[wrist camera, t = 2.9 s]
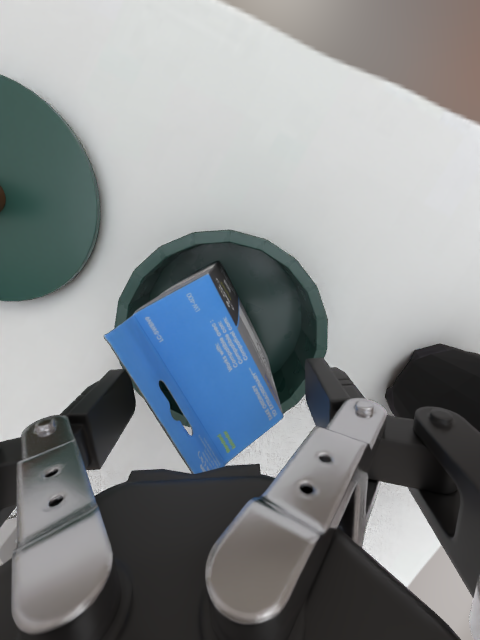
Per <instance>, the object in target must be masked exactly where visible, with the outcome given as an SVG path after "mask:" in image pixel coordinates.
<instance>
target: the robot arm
mask: <svg viewBox="0 0 480 640" xmlns="http://www.w3.org/2000/svg"><path fill="white" fill-rule="evenodd" d="M305 395H306V401H307V405H308V407H309V410H310V412H311V415H312V417H313V420H314V422H315V425H316V426H315V427H314V428H313V430H312V431H311V432H310V434H309V435H308V436H307V437H306V439H305V440H304V441H303V443H302V444H301V445H300V447H299V448H298V449H297V451H296V452H295V453H294V454H293V456H292V457H291V458H290V460H289V461H288V462H287V464H286V465H285V466H284V468H283V469H282V470H281V471H280V473H279V474H278V475H277V477H276V478H274V477H270V476H267V475H261V474H260V464H251V465H232V466H225V467H221V468H217V469H213V470H209V471H205V472H201V473H197V474H189V473H183V472H177V471H171V470H165V469H156V470H137V471H132V472H131V474H130V476H129V478H128V480H127V482H124V483H121V484H118V485H115V486H113V487H111V488H108V489H106V490H104V491H103V492H101V493H99V494H97V495H96V496H94V494H93V491H92V488H91V484H90V481H89V478H88V475H87V472H86V470H96V469H100V468H101V467H102V465H103V464H104V462H105V460H106V459H107V457H108V455H109V454H110V452H111V450H112V449H113V447H114V445H115V444H116V442H117V440H118V439H119V437H120V435H121V434H122V432H123V430H124V429H125V427H126V425H127V424H128V422H129V421H130V419H131V417H132V416H133V414H134V411H135V405H136V401H135V395H134V390H133V384H132V380H131V378H130V376H129V375H128V373H127V372H126V370H125V369H117V370H110V371H108V372H107V374H106V375H105V376H104V377H103V378H102V379H101V380H100V381H98V382H96V383H94V384H92V385H91V386H89V387H87V388H86V389H85V390H84V391H83V392H82V393H81V395H79V396H78V397H77V398H76V399H75V401H73V402H72V403H71V404H70V405H69V406H68V407H67V408H66V409H65V410H64V411H63V412H62V413H61V414H60V415H54V416H49V417H46V418H43V419H40V420H38V421H36V422H34V423H32V424H31V425H29V426H28V427H27V428H26V429H25V430H24V431H23V432H22V434H21V437H20V438H16V439H12V440H7V441H3V442H0V527H1V526H2V525H3V523H4V522H5V521H6V519H7V518H8V517H9V516H10V514H11V513H12V512H13V510H14V509H15V508H16V506H17V546H16V549H14V551H13V555H12V558H11V559H9V560H8V561H7V562H5V563H4V564H3V565H1V566H0V640H461V639H460V638H459V637H458V636H457V635H456V633H455V632H454V631H453V630H452V629H451V628H450V627H449V625H447V624H446V623H445V622H444V621H443V620H442V619H441V618H440V617H439V616H438V615H437V614H436V613H435V612H434V611H433V610H431V609H430V608H429V607H428V606H427V605H426V604H425V603H424V602H422V601H421V600H420V599H419V598H418V597H417V596H416V595H414V594H413V593H412V592H411V591H410V590H409V589H408V588H407V587H405V586H404V585H403V584H402V583H401V582H400V581H399V580H398V579H396V578H395V577H394V576H393V575H392V574H391V573H390V572H388V571H387V570H386V569H385V568H384V567H383V566H382V565H381V564H379V563H378V562H377V561H376V560H375V559H374V558H373V557H372V556H370V555H369V554H368V553H367V552H366V551H365V550H364V549H362V545H363V540H364V534H365V529H366V526H367V522H368V520H369V517H370V514H371V511H372V508H373V505H374V502H375V499H376V496H377V494H378V491H379V488H380V485H381V481H382V482H386V483H391V484H396V485H401V486H406V487H408V489H409V491H410V492H411V494H412V496H413V497H414V499H415V501H416V502H417V504H418V506H419V507H420V509H421V511H422V513H423V514H424V516H425V518H426V519H427V521H428V523H429V524H430V526H431V528H432V529H433V531H434V533H435V534H436V536H437V538H438V540H439V541H440V543H441V545H442V546H443V548H444V549H445V551H446V553H447V555H448V556H449V558H450V560H451V561H452V563H453V565H454V567H455V568H456V570H457V572H458V573H459V575H460V577H461V578H462V580H463V582H464V583H465V585H466V587H467V589H468V590H469V592H470V594H471V595H472V597H473V602H472V607H471V611H470V616H469V624H470V630H471V633H472V636H473V639H474V640H480V432H479V431H478V430H477V429H475V428H474V427H473V426H472V425H471V424H470V423H469V422H468V421H466V420H465V419H464V418H463V417H462V416H460V415H458V414H457V413H455V412H452V411H450V410H447V409H443V408H439V407H429V406H428V407H421V408H419V409H417V410H416V412H415V417H414V419H409V418H401V417H395V416H390V415H387V411H386V409H385V408H384V407H383V406H382V405H381V404H379V403H378V402H375V401H373V400H370V399H365V398H364V397H363V395H362V394H361V393H360V391H359V390H358V389H357V388H356V386H355V385H354V384H353V382H352V381H351V380H350V378H349V377H348V376H347V375H346V373H345V372H343V371H341V370H340V369H338V368H330V367H329V366H328V364H327V363H326V361H325V360H324V358H307V359H306V360H305Z"/></svg>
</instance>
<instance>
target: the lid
mask: <svg viewBox="0 0 480 640" xmlns="http://www.w3.org/2000/svg"><path fill="white" fill-rule="evenodd" d="M99 222H100V201H99V193H98V187H97V183H96V179H95V175H94V172H93V169H92V167H91V164H90V161H89V159H88V157H87V155H86V153H85V151H84V149H83V147H82V145H81V143H80V141H79V140H78V138H77V137H76V135H75V134H74V132H73V131H72V129H71V128H70V127H69V126H68V124H67V123H66V122H65V121H64V119H63V118H62V117H61V116H60V115H59V114H58V113H57V112H56V111H55V110H54V109H53V108H52V107H51V106H50V105H49V104H48V103H46V102H45V101H44V100H43V99H41V98H40V97H39V96H38V95H36V94H35V93H34V92H32V91H31V90H29V89H27V88H26V87H24V86H23V85H21V84H19V83H18V82H16V81H14V80H12V79H9V78H7V77H5V76H3V75H1V74H0V301H23V300H31V299H34V298H38V297H42V296H45V295H48V294H50V293H52V292H54V291H57V290H58V289H60V288H61V287H63V286H65V285H66V284H67V283H69V282H70V281H71V280H72V279H73V278H74V277H75V276H76V275H77V274H78V273H79V272H80V271H81V269H82V268H83V267H84V265H85V264H86V262H87V260H88V259H89V257H90V255H91V253H92V250H93V248H94V246H95V242H96V239H97V235H98V230H99Z"/></svg>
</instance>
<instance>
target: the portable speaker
mask: <svg viewBox="0 0 480 640" xmlns="http://www.w3.org/2000/svg"><path fill="white" fill-rule="evenodd" d="M385 398H386V400H387V402H388V404H389V407H390V409H391V411H392V413H393V414H394V415H395V417H401V418H409V419H414V417H415V412H416V410H417V409H419V408H421V407H428V406H429V407H439V408H443V409H447V410H450V411H452V412H455V413H457V414H458V415H460V416H462V417H463V418H464V419H465V420H466V421H468V422H469V423H470V424H471V425H472V426H473V427H474V428H475V429H477V430H478V431H479V432H480V355H479V354H476V353H472V352H467V351H463V350H460V349H457V348H454V347H450V346H447V345H443V344H437V345H433V346H429V347H425V348H422V349H418V350H415V351H414V354H413V356H412V359H411V360H410V362H409V363H408V364H407V366H406V367H405V368H404V370H403V371H402V372H401V374H400V375H399V376H398V377H397V379H396V381H395V383H394V385H393V387H390V388H387V392H386V395H385Z"/></svg>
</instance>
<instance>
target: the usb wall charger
mask: <svg viewBox="0 0 480 640" xmlns="http://www.w3.org/2000/svg"><path fill="white" fill-rule="evenodd" d="M16 546H17V517H15V518H11V519H7V520H6V521H5V522H4V523H3V525H2V526H1V527H0V566H1V565H3V564H4V563H5V562H7V561H8V560H9V559H11V558H12V555H13V551H14V549H16Z"/></svg>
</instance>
